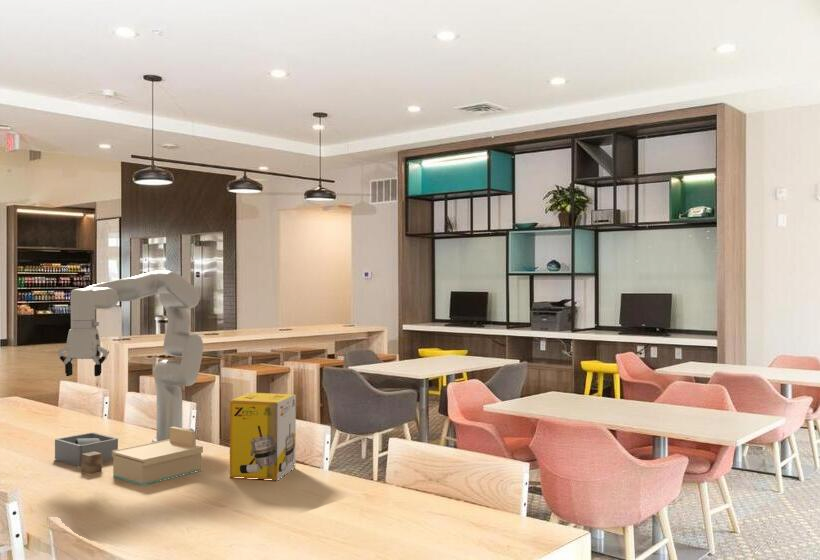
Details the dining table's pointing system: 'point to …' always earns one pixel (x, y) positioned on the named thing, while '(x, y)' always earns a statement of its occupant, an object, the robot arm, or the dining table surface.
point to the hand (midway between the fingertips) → (83, 375)
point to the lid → (164, 448)
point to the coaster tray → (84, 448)
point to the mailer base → (154, 469)
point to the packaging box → (262, 435)
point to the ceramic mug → (86, 441)
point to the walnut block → (91, 462)
